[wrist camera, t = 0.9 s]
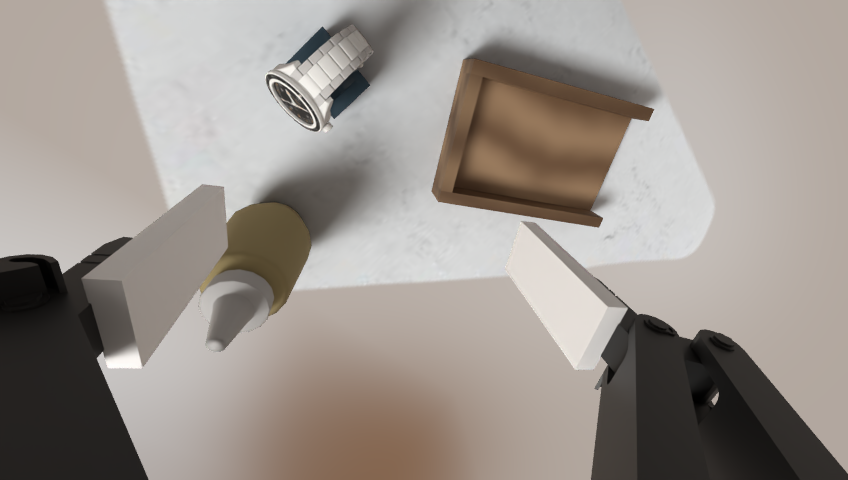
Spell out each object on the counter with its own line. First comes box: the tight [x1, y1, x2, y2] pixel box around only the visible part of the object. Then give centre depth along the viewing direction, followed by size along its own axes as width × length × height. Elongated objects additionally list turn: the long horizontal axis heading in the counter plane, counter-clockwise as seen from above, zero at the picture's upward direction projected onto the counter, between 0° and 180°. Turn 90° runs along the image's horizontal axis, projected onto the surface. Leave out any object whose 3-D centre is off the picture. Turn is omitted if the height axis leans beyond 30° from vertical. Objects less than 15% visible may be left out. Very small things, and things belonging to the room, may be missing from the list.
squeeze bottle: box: [198, 202, 311, 352], centre depth 29 cm, size 8×8×18 cm
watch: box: [265, 25, 373, 133], centre depth 27 cm, size 6×8×11 cm
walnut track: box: [432, 58, 654, 227], centre depth 36 cm, size 13×20×4 cm
